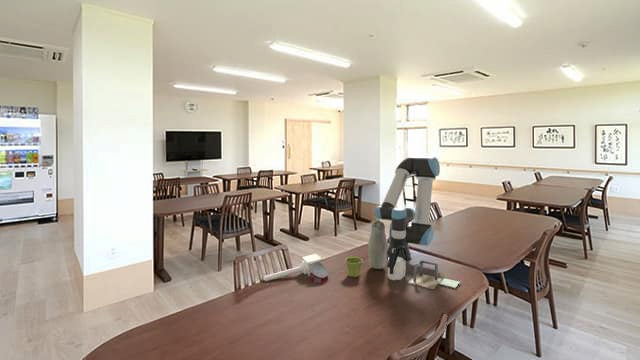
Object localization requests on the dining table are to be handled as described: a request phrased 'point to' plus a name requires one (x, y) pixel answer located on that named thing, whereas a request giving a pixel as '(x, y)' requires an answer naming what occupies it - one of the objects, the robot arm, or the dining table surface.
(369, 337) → the dining table surface
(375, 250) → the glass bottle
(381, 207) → the robot arm
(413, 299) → the dining table surface
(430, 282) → the wire board
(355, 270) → the plant pot
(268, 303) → the dining table surface
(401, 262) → the cup
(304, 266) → the white handled tool
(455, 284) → the pad
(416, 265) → the bent wire
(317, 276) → the canned food
